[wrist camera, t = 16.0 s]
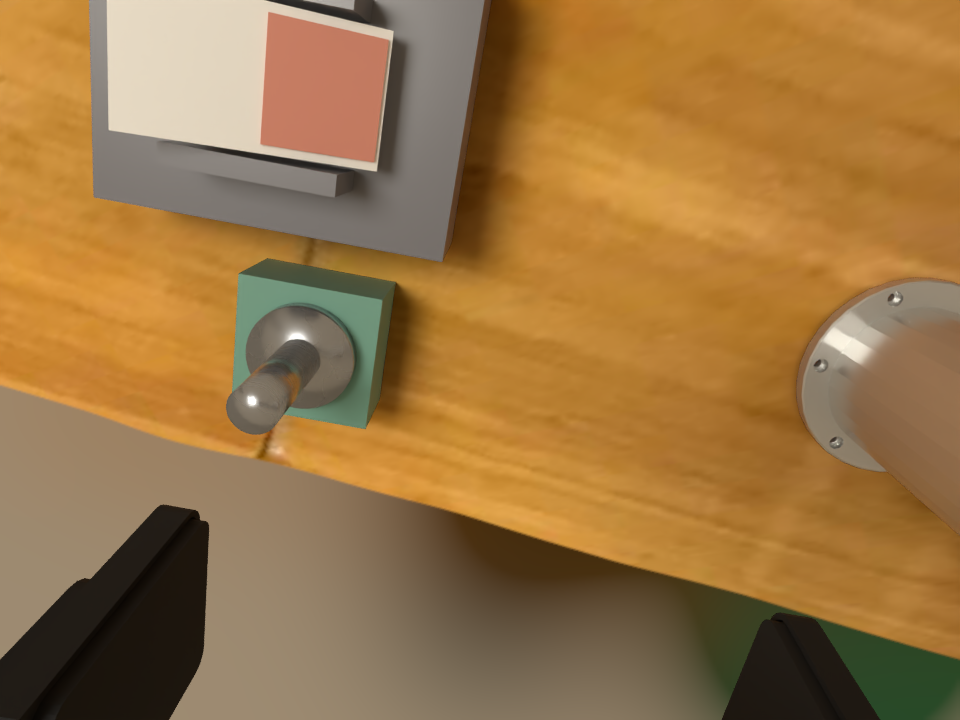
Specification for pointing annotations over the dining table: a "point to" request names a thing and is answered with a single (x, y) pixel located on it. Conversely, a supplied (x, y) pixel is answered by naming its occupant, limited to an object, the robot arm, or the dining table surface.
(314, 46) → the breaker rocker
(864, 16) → the dining table surface
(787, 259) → the dining table surface
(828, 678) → the robot arm
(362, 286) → the stylus holder
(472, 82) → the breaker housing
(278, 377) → the metal knob
